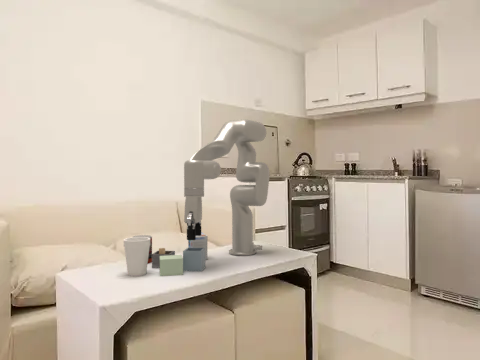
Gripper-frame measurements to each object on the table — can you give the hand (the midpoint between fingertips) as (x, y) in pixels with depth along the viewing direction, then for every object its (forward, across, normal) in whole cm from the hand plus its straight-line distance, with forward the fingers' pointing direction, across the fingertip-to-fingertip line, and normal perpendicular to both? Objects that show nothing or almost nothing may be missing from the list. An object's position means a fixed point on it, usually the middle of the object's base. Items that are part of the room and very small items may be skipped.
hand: (194, 237), depth 141 cm
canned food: (+12, -9, -24) cm, 29 cm away
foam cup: (+12, +9, -19) cm, 24 cm away
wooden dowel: (+12, -2, -14) cm, 18 cm away
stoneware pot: (+12, 0, 0) cm, 12 cm away
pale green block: (+12, +7, -7) cm, 16 cm away
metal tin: (+12, -3, -13) cm, 18 cm away
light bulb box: (+13, -19, -3) cm, 23 cm away
